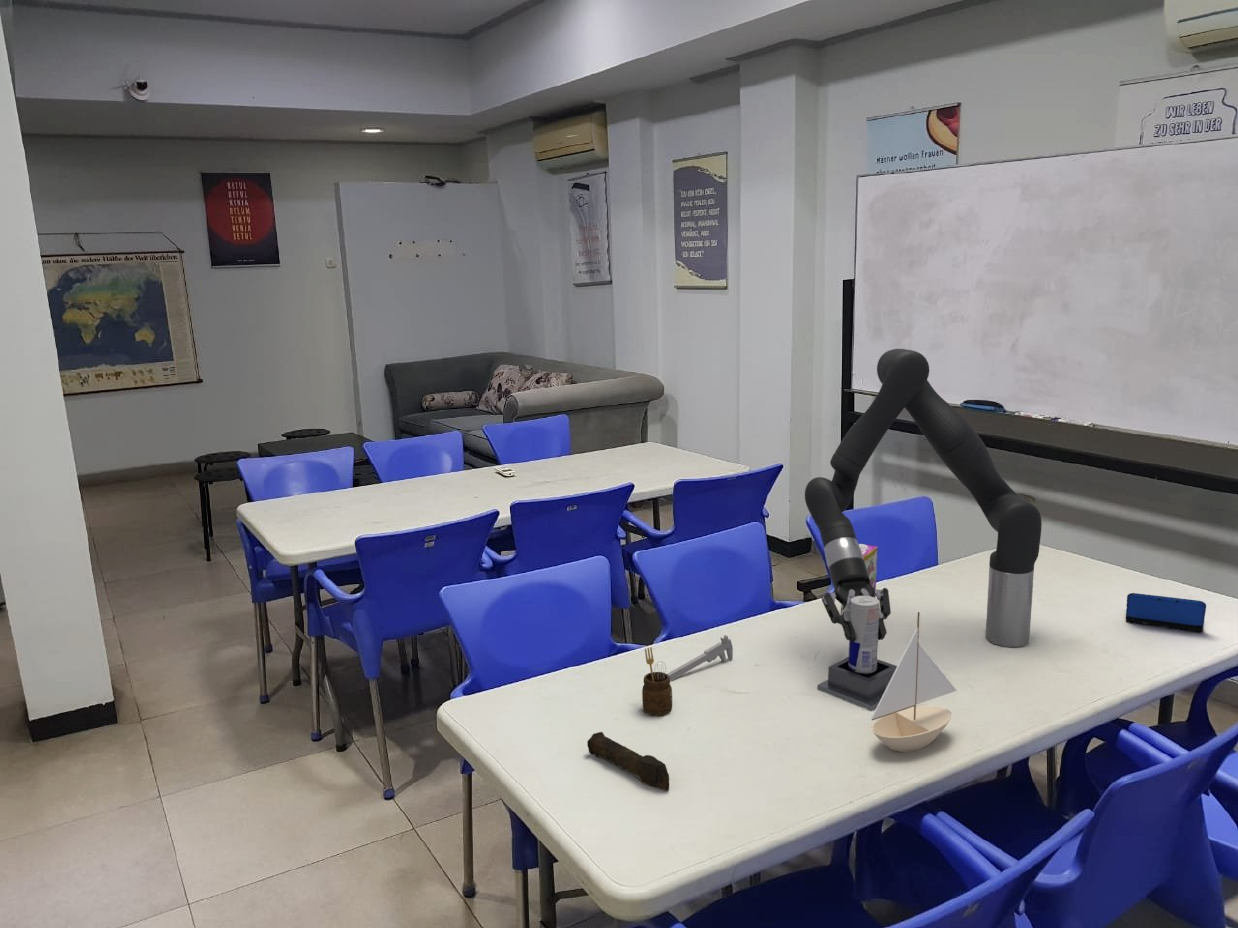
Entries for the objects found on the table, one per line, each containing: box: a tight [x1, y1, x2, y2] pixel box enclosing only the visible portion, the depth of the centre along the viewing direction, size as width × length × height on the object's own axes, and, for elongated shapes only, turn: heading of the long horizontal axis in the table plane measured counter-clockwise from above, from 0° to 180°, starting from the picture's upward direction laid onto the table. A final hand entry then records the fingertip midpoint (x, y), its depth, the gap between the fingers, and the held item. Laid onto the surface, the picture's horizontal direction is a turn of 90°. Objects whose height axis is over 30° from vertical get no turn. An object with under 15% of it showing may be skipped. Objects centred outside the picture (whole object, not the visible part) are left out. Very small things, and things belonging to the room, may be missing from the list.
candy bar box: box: [840, 543, 879, 614], centre depth 228 cm, size 11×5×16 cm, turn 144°
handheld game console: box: [1125, 592, 1207, 634], centre depth 216 cm, size 16×13×9 cm
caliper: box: [666, 634, 734, 682], centre depth 200 cm, size 20×1×6 cm, turn 124°
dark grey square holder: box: [817, 656, 898, 712], centre depth 189 cm, size 13×13×5 cm
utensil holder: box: [641, 646, 673, 717], centre depth 183 cm, size 6×6×12 cm
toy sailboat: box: [870, 611, 958, 753], centre depth 166 cm, size 21×25×9 cm
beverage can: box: [848, 596, 880, 674], centre depth 187 cm, size 6×6×15 cm
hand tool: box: [586, 731, 670, 792], centre depth 162 cm, size 19×4×5 cm, turn 40°
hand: (867, 639), depth 185 cm, fingers closed on beverage can, 5 cm apart
